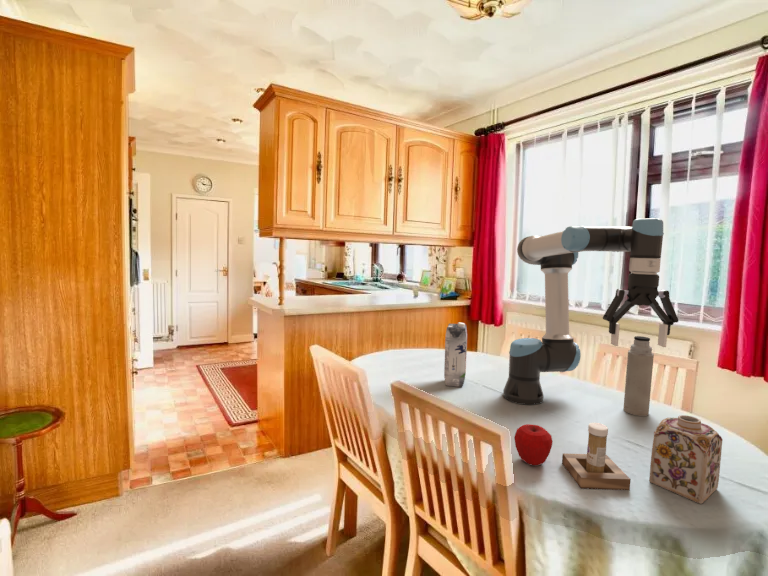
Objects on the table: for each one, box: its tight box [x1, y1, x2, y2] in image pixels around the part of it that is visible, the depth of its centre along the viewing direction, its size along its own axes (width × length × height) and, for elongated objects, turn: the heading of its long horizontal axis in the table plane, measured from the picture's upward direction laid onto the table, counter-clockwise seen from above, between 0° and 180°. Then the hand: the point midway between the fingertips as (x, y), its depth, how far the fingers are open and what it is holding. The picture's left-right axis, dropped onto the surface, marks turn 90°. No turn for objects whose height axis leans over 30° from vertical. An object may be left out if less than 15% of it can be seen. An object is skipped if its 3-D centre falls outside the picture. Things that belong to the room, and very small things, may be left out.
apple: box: [513, 423, 553, 467], centre depth 115 cm, size 10×10×11 cm
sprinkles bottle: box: [585, 422, 609, 473], centre depth 109 cm, size 5×5×13 cm
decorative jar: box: [648, 415, 723, 505], centre depth 105 cm, size 12×12×18 cm
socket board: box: [561, 452, 631, 492], centre depth 109 cm, size 12×12×3 cm
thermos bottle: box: [623, 335, 654, 417], centre depth 151 cm, size 8×8×28 cm
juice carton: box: [443, 321, 468, 388], centre depth 179 cm, size 9×10×27 cm
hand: (637, 345), depth 121 cm, fingers open, 13 cm apart
